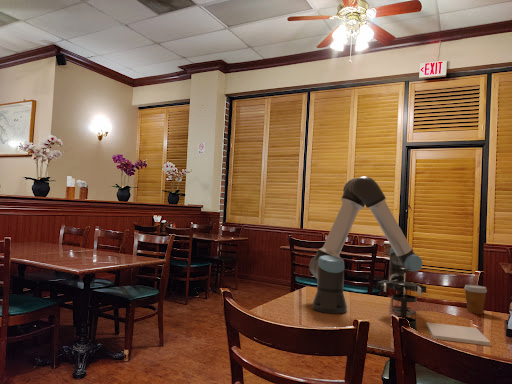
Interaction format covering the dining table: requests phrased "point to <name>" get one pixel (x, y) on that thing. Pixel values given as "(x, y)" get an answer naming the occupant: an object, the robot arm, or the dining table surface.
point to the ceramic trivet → (457, 333)
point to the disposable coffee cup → (475, 298)
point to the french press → (405, 300)
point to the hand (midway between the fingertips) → (402, 290)
